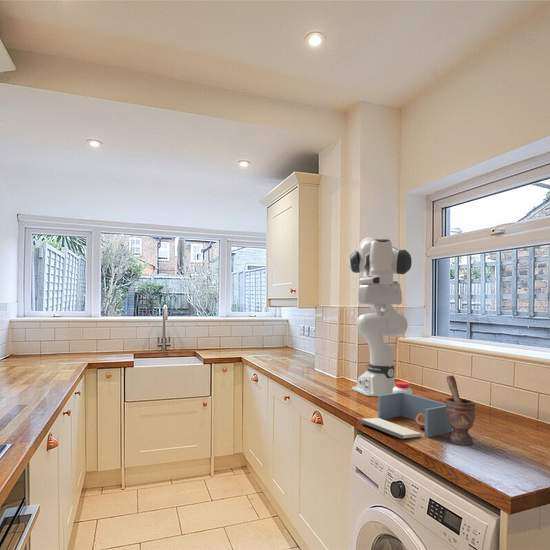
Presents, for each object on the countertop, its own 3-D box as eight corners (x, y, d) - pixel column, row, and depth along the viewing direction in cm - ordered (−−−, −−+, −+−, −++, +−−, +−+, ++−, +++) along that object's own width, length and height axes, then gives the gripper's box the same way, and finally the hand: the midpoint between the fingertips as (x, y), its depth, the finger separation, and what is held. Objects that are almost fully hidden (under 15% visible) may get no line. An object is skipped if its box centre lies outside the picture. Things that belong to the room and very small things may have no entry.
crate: (377, 419, 150) (377, 395, 150) (401, 414, 157) (401, 391, 157) (427, 437, 131) (427, 410, 131) (452, 431, 137) (452, 405, 138)
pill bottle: (413, 409, 165) (413, 382, 166) (409, 413, 158) (409, 386, 159) (395, 406, 169) (395, 380, 170) (390, 410, 162) (390, 383, 163)
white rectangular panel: (378, 420, 148) (359, 421, 143) (378, 417, 148) (359, 419, 143) (421, 436, 131) (401, 438, 127) (421, 433, 131) (401, 435, 127)
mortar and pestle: (433, 435, 133) (433, 375, 134) (452, 432, 136) (452, 374, 137) (460, 447, 122) (460, 382, 124) (481, 444, 126) (480, 381, 127)
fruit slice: (443, 432, 136) (443, 417, 137) (428, 434, 134) (428, 419, 134) (425, 425, 144) (425, 411, 145) (411, 426, 142) (411, 412, 142)
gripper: (393, 281, 160) (393, 315, 159) (355, 279, 150) (355, 315, 149) (406, 281, 155) (406, 316, 154) (367, 278, 144) (367, 316, 143)
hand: (380, 316), depth 151 cm, fingers closed
